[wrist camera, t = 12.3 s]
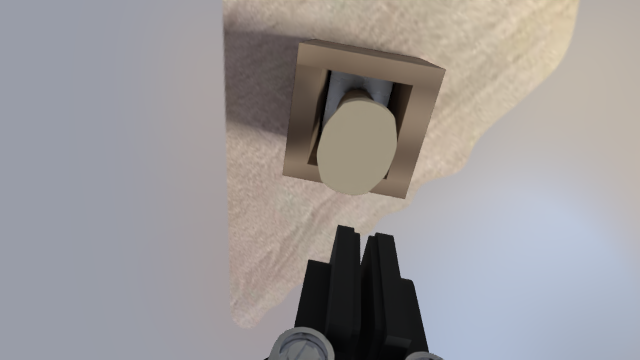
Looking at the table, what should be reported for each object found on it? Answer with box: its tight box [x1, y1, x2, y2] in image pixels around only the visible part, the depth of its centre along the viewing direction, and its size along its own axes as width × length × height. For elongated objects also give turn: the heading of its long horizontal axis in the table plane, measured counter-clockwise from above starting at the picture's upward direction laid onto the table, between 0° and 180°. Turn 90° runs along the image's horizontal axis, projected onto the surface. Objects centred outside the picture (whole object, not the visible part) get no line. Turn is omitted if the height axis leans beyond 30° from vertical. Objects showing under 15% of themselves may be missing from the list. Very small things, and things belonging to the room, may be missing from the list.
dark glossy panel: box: [321, 70, 393, 132], centre depth 35 cm, size 7×6×1 cm
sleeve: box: [283, 39, 446, 199], centre depth 31 cm, size 11×11×10 cm
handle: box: [317, 88, 397, 195], centre depth 28 cm, size 5×6×15 cm
